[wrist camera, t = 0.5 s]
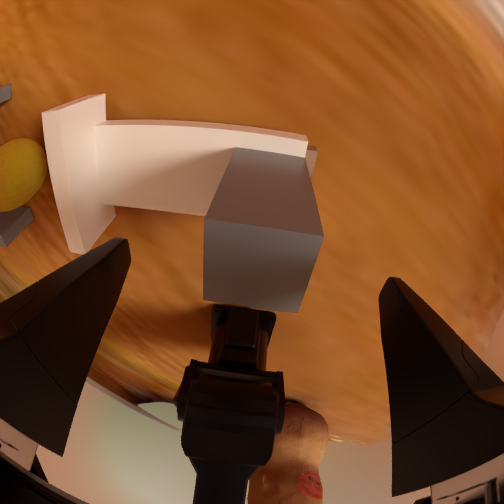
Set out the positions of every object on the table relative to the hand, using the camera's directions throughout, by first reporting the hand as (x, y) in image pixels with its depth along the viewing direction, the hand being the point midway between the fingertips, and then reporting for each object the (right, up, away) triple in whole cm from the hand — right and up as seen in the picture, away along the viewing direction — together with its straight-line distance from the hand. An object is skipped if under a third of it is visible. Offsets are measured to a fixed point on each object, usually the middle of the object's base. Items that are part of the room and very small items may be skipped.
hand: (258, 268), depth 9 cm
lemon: (-19, +9, +10) cm, 23 cm away
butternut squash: (+6, -26, +35) cm, 44 cm away
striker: (-5, +6, +9) cm, 12 cm away
